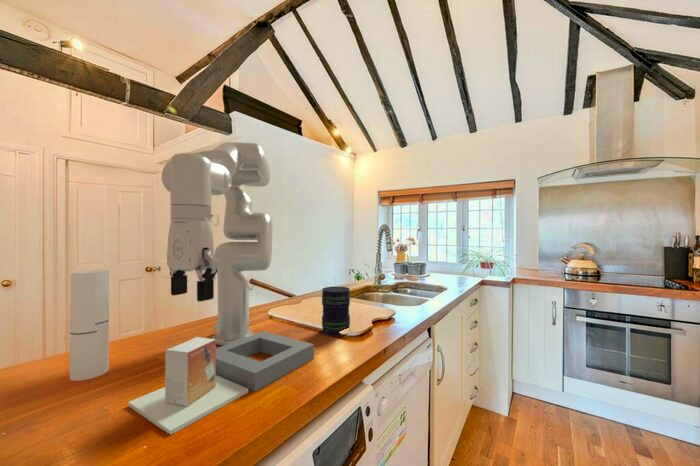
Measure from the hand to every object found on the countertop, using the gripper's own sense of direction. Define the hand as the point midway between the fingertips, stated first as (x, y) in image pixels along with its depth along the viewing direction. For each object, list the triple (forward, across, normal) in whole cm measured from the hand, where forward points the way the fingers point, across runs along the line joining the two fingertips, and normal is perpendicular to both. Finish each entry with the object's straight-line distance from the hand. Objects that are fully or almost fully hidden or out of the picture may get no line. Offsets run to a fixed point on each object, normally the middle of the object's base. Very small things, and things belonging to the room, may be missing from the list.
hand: (191, 297), depth 61 cm
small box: (+20, 0, 0) cm, 20 cm away
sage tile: (+21, 0, -1) cm, 21 cm away
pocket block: (+21, 0, +18) cm, 28 cm away
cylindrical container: (+22, -32, -8) cm, 39 cm away
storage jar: (+22, +2, +50) cm, 55 cm away
